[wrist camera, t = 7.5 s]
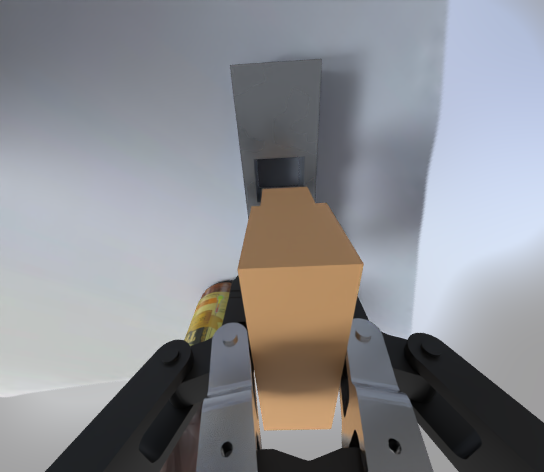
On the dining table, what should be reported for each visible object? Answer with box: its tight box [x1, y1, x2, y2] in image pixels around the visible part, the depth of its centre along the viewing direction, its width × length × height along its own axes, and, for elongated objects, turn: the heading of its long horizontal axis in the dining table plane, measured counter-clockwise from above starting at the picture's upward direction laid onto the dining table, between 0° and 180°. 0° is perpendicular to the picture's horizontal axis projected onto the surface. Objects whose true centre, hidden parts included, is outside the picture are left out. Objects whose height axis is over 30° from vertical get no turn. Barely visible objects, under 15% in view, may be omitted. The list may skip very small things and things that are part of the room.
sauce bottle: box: [160, 282, 232, 472], centre depth 17 cm, size 7×6×20 cm
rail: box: [230, 59, 322, 220], centre depth 18 cm, size 5×20×4 cm, turn 3°
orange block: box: [238, 187, 364, 430], centre depth 11 cm, size 3×9×7 cm, turn 3°
